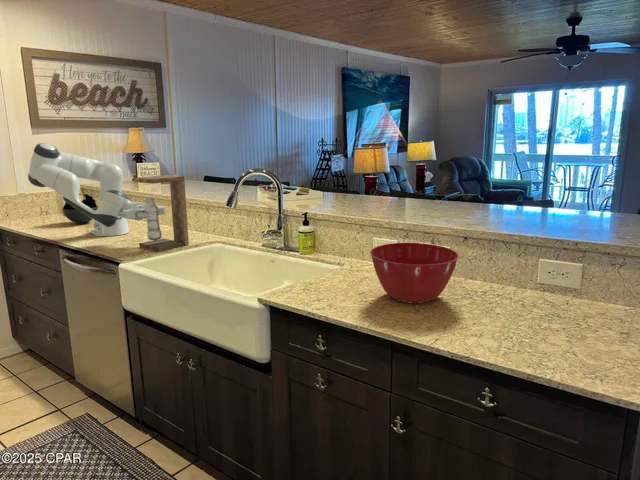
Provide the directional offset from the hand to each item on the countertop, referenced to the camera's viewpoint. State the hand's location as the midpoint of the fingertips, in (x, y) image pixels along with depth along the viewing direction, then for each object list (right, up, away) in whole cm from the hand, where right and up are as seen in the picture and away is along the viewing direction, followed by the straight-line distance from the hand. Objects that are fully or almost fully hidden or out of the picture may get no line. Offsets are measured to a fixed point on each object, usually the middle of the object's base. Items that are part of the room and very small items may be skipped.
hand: (153, 213), depth 231 cm
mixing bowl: (+110, -32, -69) cm, 134 cm away
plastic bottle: (0, -13, +3) cm, 13 cm away
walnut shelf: (+2, -16, +7) cm, 17 cm away
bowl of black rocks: (-70, -2, +73) cm, 101 cm away
